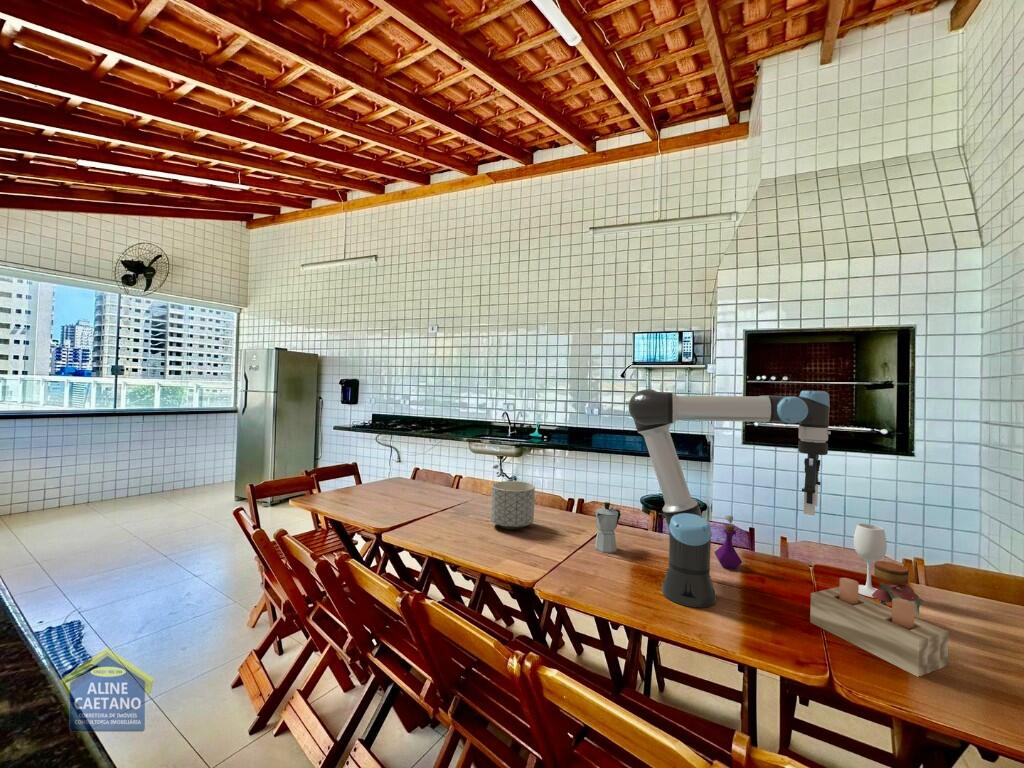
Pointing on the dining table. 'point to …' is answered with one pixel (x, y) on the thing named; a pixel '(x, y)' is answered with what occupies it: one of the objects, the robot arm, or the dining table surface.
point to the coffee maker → (606, 528)
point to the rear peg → (849, 591)
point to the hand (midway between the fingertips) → (810, 509)
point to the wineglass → (869, 550)
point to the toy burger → (890, 591)
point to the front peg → (903, 613)
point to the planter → (512, 504)
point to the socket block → (881, 632)
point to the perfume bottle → (728, 548)
